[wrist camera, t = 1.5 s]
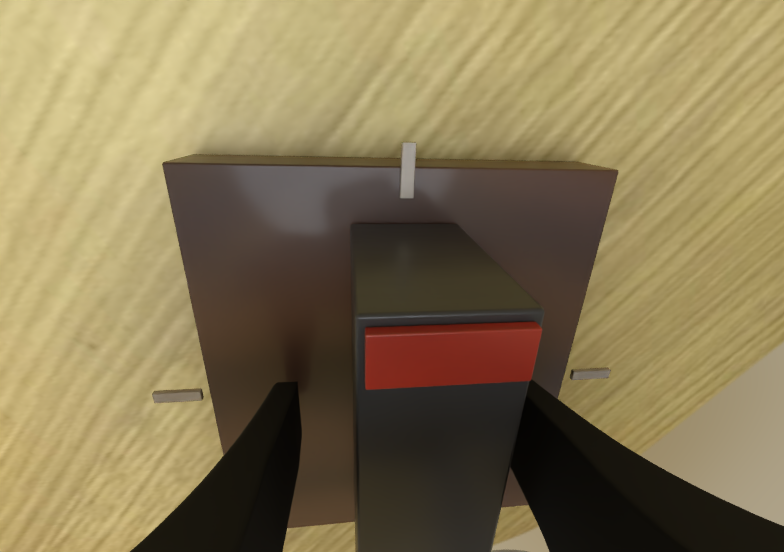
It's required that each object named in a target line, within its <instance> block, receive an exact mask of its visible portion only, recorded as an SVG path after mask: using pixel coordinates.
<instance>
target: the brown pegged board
mask: <svg viewBox="0 0 784 552" xmlns="http://www.w3.org/2000/svg"><path fill="white" fill-rule="evenodd" d="M162 165H163V170H164V174H165V179H166V184H167V189H168V193H169V198H170V203H171V208H172V213H173V217H174V222H175V227H176V232H177V236H178V241H179V246H180V251H181V255H182V260H183V265H184V270H185V274H186V279H187V284H188V289H189V293H190V298H191V303H192V308H193V312H194V317H195V322H196V327H197V331H198V336H199V341H200V346H201V350H202V355H203V360H204V365H205V369H206V374H207V379H208V384H209V388H210V393H211V398H212V403H213V407H214V412H215V417H216V422H217V426H218V431H219V436H220V441H221V445H222V450H223V455H225V453H226V452H227V451H228V450H229V448H230V447H231V446H232V445H233V444H234V442H235V441H236V440H237V438H238V437H239V436H240V434H241V433H242V432H243V430H244V429H245V427H246V426H247V425H248V423H249V422H250V421H251V419H252V418H253V416H254V415H255V413H256V412H257V410H258V409H259V408H260V406H261V405H262V403H263V401H264V400H265V398H266V397H267V395H268V394H269V392H270V390H271V389H272V387H273V386H274V385H275V384H276V383H277V382H297V381H298V392H299V404H300V415H301V426H302V440H301V451H300V462H299V470H298V475H297V480H296V485H295V490H294V495H293V500H292V505H291V510H290V516H289V521H288V526H287V528H294V527H304V526H315V525H325V524H335V523H346V522H355V505H354V442H353V376H352V310H351V244H350V226H351V225H352V224H458V225H459V226H460V227H461V228H462V229H463V230H464V231H465V232H466V233H467V234H468V235H469V236H470V237H471V238H472V239H473V240H474V241H475V242H476V243H477V244H478V245H479V246H480V247H481V248H482V249H483V250H484V251H485V252H486V253H488V254H489V255H490V256H491V257H492V258H493V259H494V260H495V261H496V262H497V263H498V264H499V265H500V266H501V267H502V268H503V269H504V270H505V271H506V272H507V273H508V274H509V275H510V276H511V277H512V278H513V279H514V280H515V281H516V282H517V283H518V284H519V285H520V286H521V287H522V288H523V289H524V290H525V291H526V292H527V293H528V294H529V295H530V296H531V297H533V298H534V299H535V300H536V301H537V302H538V303H539V304H540V305H541V306H542V307H543V308H544V318H543V322H542V327H541V328H542V334H541V339H540V343H539V348H538V352H537V356H536V361H535V365H534V370H533V374H532V380H533V381H535V382H536V383H537V384H539V385H540V386H541V387H542V388H544V389H545V390H546V391H548V392H549V393H550V394H552V395H553V396H554V397H555V398H557V399H558V395H559V392H560V388H561V384H562V380H563V377H564V373H565V369H566V366H567V362H568V358H569V354H570V351H571V347H572V343H573V339H574V336H575V332H576V328H577V325H578V321H579V317H580V313H581V310H582V306H583V302H584V298H585V295H586V291H587V287H588V283H589V280H590V276H591V272H592V269H593V265H594V261H595V257H596V254H597V250H598V246H599V242H600V239H601V235H602V231H603V227H604V224H605V220H606V216H607V213H608V209H609V205H610V201H611V198H612V194H613V190H614V186H615V183H616V179H617V175H618V170H615V169H610V168H606V167H601V166H596V165H591V164H586V163H581V162H560V161H509V160H458V159H416V142H402V144H401V158H356V157H305V156H255V155H204V154H193V155H189V156H185V157H181V158H178V159H174V160H170V161H166V162H163V164H162ZM610 371H611V370H610V369H609V368H608V367H607V368H588V369H572V370H571V374H570V378H571V380H581V379H599V378H608V377H609V374H610ZM152 396H153V399H154V403H166V402H184V401H202V399H203V392H202V389H182V390H163V391H154V392H153V394H152ZM521 505H529V504H528V502H527V500H526V498H525V496H524V494H523V492H522V490H521V488H520V486H519V484H518V482H517V480H516V478H515V476H514V473H513V471H512V469H511V467H510V470H509V474H508V479H507V483H506V488H505V492H504V497H503V501H502V506H501V507H511V506H521Z"/></svg>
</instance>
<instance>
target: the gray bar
mask: <svg viewBox="0 0 784 552" xmlns="http://www.w3.org/2000/svg"><path fill="white" fill-rule="evenodd" d="M350 244H351V310H352V376H353V442H354V505H355V547H356V552H491V550H492V546H493V541H494V537H495V532H496V528H497V524H498V519H499V515H500V510H501V506H502V501H503V497H504V492H505V488H506V483H507V479H508V474H509V470H510V465H511V461H512V456H513V452H514V447H515V443H516V438H517V434H518V430H519V425H520V421H521V416H522V412H523V407H524V403H525V398H526V394H527V389H528V385H529V381H531V379H532V374H533V370H534V365H535V361H536V356H537V352H538V348H539V343H540V339H541V334H542V328H541V327H542V322H543V318H544V308H543V307H542V306H541V305H540V304H539V303H538V302H537V301H536V300H535V299H534V298H533V297H531V296H530V295H529V294H528V293H527V292H526V291H525V290H524V289H523V288H522V287H521V286H520V285H519V284H518V283H517V282H516V281H515V280H514V279H513V278H512V277H511V276H510V275H509V274H508V273H507V272H506V271H505V270H504V269H503V268H502V267H501V266H500V265H499V264H498V263H497V262H496V261H495V260H494V259H493V258H492V257H491V256H490V255H489V254H488V253H486V252H485V251H484V250H483V249H482V248H481V247H480V246H479V245H478V244H477V243H476V242H475V241H474V240H473V239H472V238H471V237H470V236H469V235H468V234H467V233H466V232H465V231H464V230H463V229H462V228H461V227H460V226H459V225H458V224H352V225H351V226H350Z"/></svg>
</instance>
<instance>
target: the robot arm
mask: <svg viewBox="0 0 784 552" xmlns="http://www.w3.org/2000/svg"><path fill="white" fill-rule="evenodd" d="M301 440H302V426H301V415H300V404H299V392H298V381H297V382H277V383H276V384H275V385H274V386H273V387H272V389H271V390H270V392H269V394H268V395H267V397H266V398H265V400H264V401H263V403H262V405H261V406H260V408H259V409H258V410H257V412H256V413H255V415H254V416H253V418H252V419H251V421H250V422H249V423H248V425H247V426H246V427H245V429H244V430H243V432H242V433H241V434H240V436H239V437H238V438H237V440H236V441H235V442H234V444H233V445H232V446H231V447H230V448H229V450H228V451H227V452H226V453H225V455H224V456H223V457H222V458H221V460H220V461H219V462H218V463H217V464H216V466H215V467H214V468H213V469H212V470H211V472H210V473H209V474H208V475H207V476H206V477H205V478H204V479H203V481H202V482H201V483H200V484H199V485H198V486H197V487H196V488H195V489H194V490H193V491H192V492H191V494H190V495H189V496H188V497H187V498H186V499H185V500H184V501H183V502H182V503H181V504H180V505H179V506H178V507H177V508H176V509H175V510H174V511H173V512H172V513H171V514H170V515H169V516H168V517H167V518H166V519H165V520H164V521H163V522H162V523H161V524H160V525H159V526H158V527H157V528H156V529H154V530H153V531H152V532H151V533H150V534H149V535H148V536H147V537H146V538H145V539H144V540H143V541H142V542H140V543H139V544H138V545H137V546H136V547H135V548H134V549H132V550H131V551H130V552H282V551H283V546H284V541H285V536H286V531H287V526H288V521H289V516H290V510H291V505H292V500H293V495H294V490H295V485H296V480H297V475H298V470H299V462H300V451H301ZM510 467H511V469H512V471H513V473H514V476H515V478H516V480H517V482H518V484H519V486H520V488H521V490H522V492H523V494H524V496H525V498H526V500H527V502H528V504H529V506H530V508H531V510H532V513H533V515H534V517H535V519H536V521H537V523H538V525H539V527H540V530H541V532H542V534H543V536H544V539H545V541H546V544H547V546H548V549H549V552H784V526H782V525H779V524H777V523H774V522H772V521H769V520H767V519H764V518H762V517H760V516H757V515H755V514H753V513H751V512H749V511H746V510H744V509H742V508H740V507H738V506H735V505H733V504H731V503H729V502H726V501H725V500H722V499H720V498H718V497H716V496H714V495H712V494H710V493H708V492H706V491H704V490H702V489H700V488H698V487H696V486H694V485H692V484H690V483H688V482H686V481H684V480H683V479H681V478H679V477H677V476H675V475H673V474H671V473H669V472H667V471H666V470H664V469H662V468H660V467H658V466H657V465H655V464H653V463H651V462H650V461H648V460H646V459H645V458H643V457H641V456H640V455H638V454H636V453H635V452H633V451H631V450H630V449H628V448H626V447H625V446H623V445H622V444H620V443H619V442H617V441H615V440H614V439H612V438H611V437H609V436H608V435H606V434H605V433H604V432H602V431H601V430H599V429H598V428H596V427H595V426H593V425H592V424H590V423H589V422H588V421H586V420H585V419H583V418H582V417H581V416H579V415H578V414H577V413H575V412H574V411H573V410H571V409H570V408H569V407H567V406H566V405H565V404H563V403H562V402H561V401H559V400H558V399H557V398H555V397H554V396H553V395H552V394H550V393H549V392H548V391H546V390H545V389H544V388H542V387H541V386H540V385H539V384H537V383H536V382H535V381H533V380H532V379H531V381H529V385H528V389H527V394H526V398H525V403H524V407H523V412H522V416H521V421H520V425H519V430H518V434H517V438H516V443H515V447H514V452H513V456H512V461H511V465H510Z"/></svg>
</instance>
